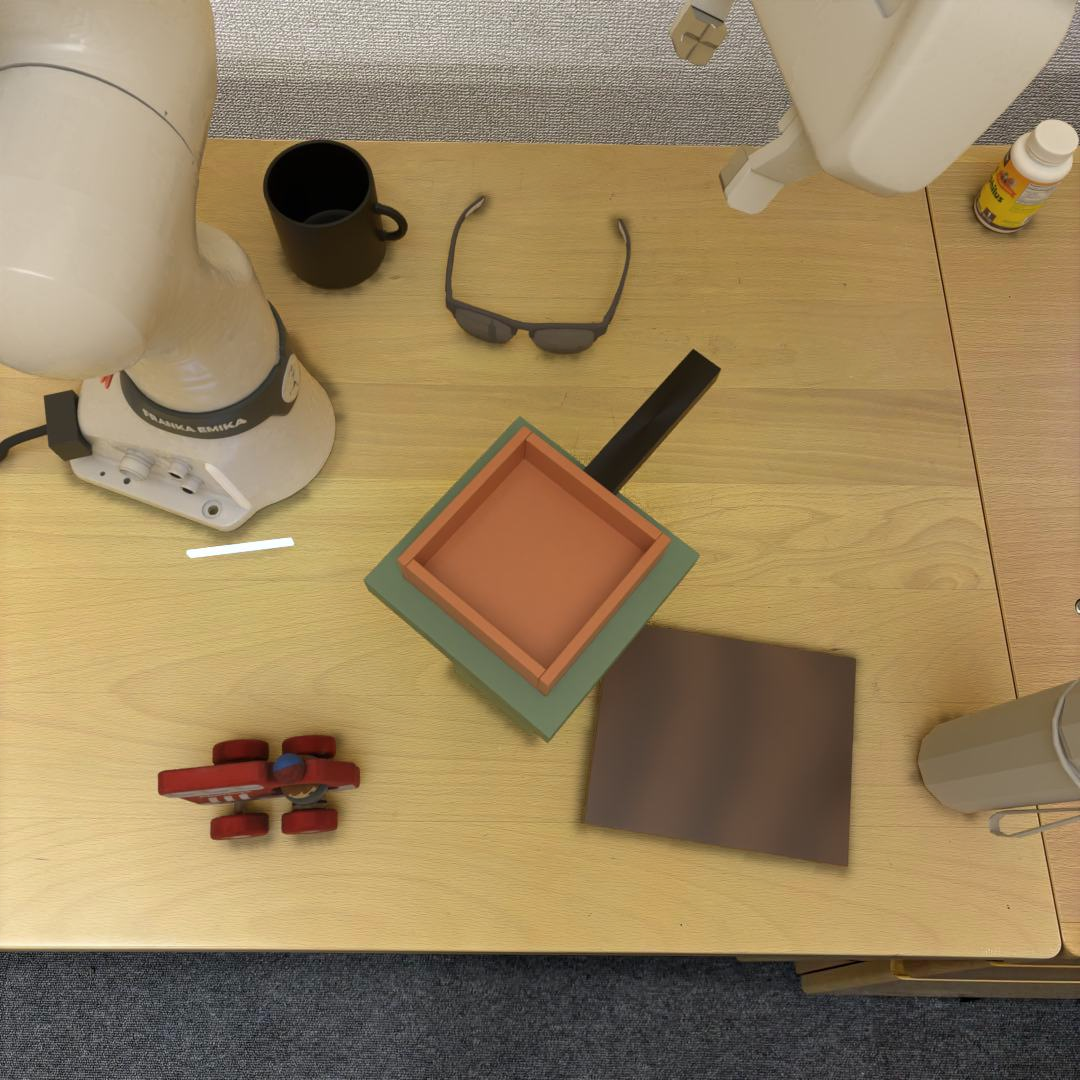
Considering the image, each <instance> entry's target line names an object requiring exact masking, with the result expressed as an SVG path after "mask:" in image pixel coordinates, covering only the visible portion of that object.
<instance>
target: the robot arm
mask: <svg viewBox="0 0 1080 1080" xmlns="http://www.w3.org/2000/svg"><path fill="white" fill-rule="evenodd" d="M734 2H735V0H685V2H684V3H683V5H682V6H681V8H680V10H679V12H678V13H677V15H676V16H675V18H674V20H673V21H672V23H671V24H670V26H669V29H668V34H669V37H670V39H671V43H672V47H673V50H674V51H675V54H676V55H677V57H678V58H679V59H681V60H683V61H688V62H690V64H692V65H695V66H697V67H701V66H704V65H706V64H707V63H709V62H710V60H712V58H713V56H714V53H715V50H716V49H718V48H720V46H721V45H722V43H723V42H724V41H725V39H726V37H727V36H728V35H729V32H728V30H727V26H726V23H725V22H726V20H727V19H728V16H729V13H730V11H731V9H732V7H733V4H734ZM749 2H750V5H751V6H752V9H753V11H754V13H755V16H756V18H757V21H758V23H759V25H760V28H761V30H762V32H763V35H764V37H765V39H766V41H767V44H768V47H769V49H770V51H771V54H772V57H773V59H774V61H775V63H776V66H777V68H778V70H779V73H780V75H781V78H782V80H783V82H784V85H785V87H786V89H787V92H788V94H789V97H790V99H791V101H792V104H791V105H790V107H789V108H788V109H787V110H786V112H785V113H784V114H783V115H782V117H781V118H780V119H779V121H778V123H777V129H778V131H779V133H780V134H781V135H780V136H778V137H776V138H775V139H773V140H772V141H770V142H769V143H767V144H765V145H764V146H762V147H760V148H759V149H756V148H754V147H752V146H749V145H746V144H744V143H741V144H740V145H739V146H738V148H736V150H735V152H734V153H733V154H732V155H731V156H730V159H729V162H728V164H726V165H723V167H722V168H721V169H720V171H719V173H718V179H719V182H720V185H721V189H722V193H723V196H724V199H725V201H726V204H727V206H728V208H730V209H733V210H735V211H739V212H740V213H743V214H747V215H750V216H753V215H754V216H755V215H758V214H760V213H761V212H763V211H764V210H765V209H766V208H767V206H769V204H770V203H771V202H772V201H774V198H776V196H777V195H778V194H779V193H780V192H781V190H782V189H783V188H784V187H785V186H786V185H787V186H790V185H791V184H794V183H796V182H800V181H802V180H804V179H806V178H809V177H811V176H814V175H817V174H819V173H822V172H824V173H825V174H826V175H828V176H830V177H831V178H833V179H835V180H836V181H839V182H841V183H843V184H846V185H848V186H850V187H853V188H855V189H858V190H860V191H863V192H865V193H867V194H871V195H872V196H875V197H878V198H882V199H893V198H898V197H902V196H906V195H910V194H913V193H917V192H919V191H921V190H923V189H925V188H926V187H927V186H929V185H930V184H932V183H933V182H934V181H935V180H936V179H937V178H938V177H940V176H941V175H942V174H943V173H944V172H945V171H946V170H947V169H948V168H949V167H951V166H952V164H954V163H955V162H956V161H957V160H958V159H959V158H960V157H961V156H962V155H963V154H964V153H965V152H966V151H967V150H968V149H969V148H970V147H971V146H972V145H973V144H974V143H975V142H976V141H977V140H978V139H979V138H980V137H981V136H982V135H983V134H985V132H987V130H988V129H989V128H990V127H991V126H992V125H993V124H994V122H996V121H997V119H999V117H1001V116H1002V114H1003V113H1004V112H1005V111H1006V110H1007V109H1008V108H1009V107H1010V106H1011V105H1012V104H1013V103H1014V102H1015V100H1016V99H1017V98H1018V97H1019V96H1020V95H1021V94H1022V93H1023V92H1024V91H1025V89H1027V87H1028V86H1029V85H1030V84H1031V83H1032V81H1034V79H1035V78H1036V77H1037V76H1038V75H1039V73H1041V71H1042V70H1043V69H1044V68H1045V66H1046V65H1047V64H1048V63H1049V61H1050V60H1051V59H1052V57H1053V56H1054V54H1055V53H1056V51H1057V50H1058V49H1059V47H1060V45H1061V44H1062V42H1063V40H1064V39H1065V36H1067V33H1068V31H1069V29H1070V27H1071V24H1072V21H1073V18H1074V15H1075V12H1076V5H1077V0H749ZM214 15H215V14H214V10H213V7H212V4H211V2H210V0H0V364H1V365H3V366H5V367H7V368H10V369H11V370H15V371H17V372H20V373H23V374H26V375H29V376H33V377H36V378H41V379H47V380H54V381H72V382H76V381H77V382H78V381H82V383H81V386H80V391H79V394H77V392H76V391H75V390H73V389H69V390H64V391H59V392H55V393H54V392H53V393H48V394H44V395H43V402H44V416H45V424H42V425H39V426H36V427H32V428H30V429H25V430H23V431H20V432H17V433H15V434H13V435H10V436H8V437H6V438H4V439H3V440H1V441H0V462H1V461H3V460H5V459H6V458H7V456H8V454H9V451H10V450H11V449H12V448H14V447H16V446H18V445H21V444H23V443H25V442H28V441H31V440H36V439H38V438H41V437H44V436H47V444H48V445H47V446H48V448H49V449H50V450H51V451H52V452H53V453H54V454H55V455H57V457H59V458H60V459H61V460H62V461H64V462H68V461H69V464H70V466H71V470H72V472H73V473H74V475H75V476H76V477H77V478H78V479H80V480H82V481H83V482H87V483H89V484H91V485H94V486H97V487H100V488H103V489H104V490H108V491H111V492H113V493H116V494H119V495H122V496H124V497H127V498H129V499H133V500H135V501H138V502H141V503H144V504H147V505H149V506H152V507H154V508H157V509H159V510H163V511H166V512H168V513H171V514H173V515H176V516H179V517H181V518H185V519H187V520H191V521H193V522H195V523H198V524H201V525H204V526H207V527H209V528H211V529H214V530H218V531H221V532H225V533H226V532H232V531H235V530H237V529H239V528H240V527H241V526H243V525H244V524H245V523H247V521H248V520H250V519H251V518H252V517H253V516H254V515H255V514H256V513H257V512H259V510H262V509H264V508H265V507H268V506H270V505H273V504H276V503H279V502H280V501H283V500H285V499H287V498H290V497H291V496H293V495H294V494H296V493H297V492H299V491H300V490H302V489H303V488H305V487H306V486H307V485H308V484H310V483H311V482H312V481H313V479H315V477H316V476H317V475H318V474H319V473H320V471H321V470H322V469H323V467H324V465H325V464H326V462H327V460H328V459H329V457H330V454H331V451H332V449H333V446H334V443H335V439H336V428H337V427H336V426H337V425H336V424H337V423H336V415H335V410H334V407H333V404H332V402H331V398H330V397H329V395H328V393H327V391H326V390H325V389H324V387H323V386H322V385H321V384H320V383H319V381H317V379H316V378H315V377H313V376H312V375H311V374H310V372H309V371H308V369H306V367H305V366H304V365H303V364H302V363H301V361H300V360H299V358H298V356H297V354H296V350H295V348H294V345H293V342H292V340H291V337H290V335H289V332H288V330H287V327H286V326H285V324H284V322H283V320H282V318H281V316H280V314H279V312H278V310H277V309H276V307H275V306H274V305H273V304H272V302H270V301H271V300H269V299H267V297H266V294H265V292H264V289H263V287H262V284H261V282H260V279H259V278H258V275H257V272H256V270H255V268H254V266H253V263H252V260H251V258H250V256H249V254H248V252H247V251H245V248H244V247H243V246H242V244H240V243H239V242H238V241H237V240H236V239H235V238H234V237H233V236H231V235H230V234H229V233H228V232H226V231H224V230H223V229H222V228H221V229H220V228H219V227H217V226H215V225H212V224H210V223H208V222H206V221H203V220H201V219H198V218H197V199H198V192H199V187H200V186H199V185H200V173H201V169H202V164H203V160H204V155H205V151H206V146H207V141H208V136H209V132H210V127H211V123H212V122H211V121H212V118H213V113H214V109H215V103H216V100H217V95H218V60H217V59H218V56H217V55H218V54H217V40H216V39H217V38H216V26H215V25H216V24H215V16H214ZM215 509H216V510H217V512H216V513H215V514H211V512H212V511H213V510H215ZM289 546H294V541H293V538H292V537H285V538H277V539H269V540H261V541H251V542H244V543H236V544H228V545H227V544H226V545H221V546H220V545H219V546H212V547H205V548H203V547H202V548H196V549H188V550H186V555H187V556H188V557H189V558H191V559H193V558H200V557H207V556H208V557H209V556H217V555H226V554H234V553H242V552H249V551H258V550H265V549H266V550H267V549H274V548H282V547H289Z"/></svg>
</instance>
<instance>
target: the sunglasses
mask: <svg viewBox="0 0 1080 1080" xmlns="http://www.w3.org/2000/svg"><path fill="white" fill-rule="evenodd" d="M485 199H486V197H485V195H481V196H480V197H478V198H477V199H476V200H475V201H473V202H472V203H471V204H470V205H468V206H467V207H466V208H465V209H464V210H463V212H462V213H461V214H460V216H459V217H458V219H457V220H456V223H455V225H454V228H453V231H452V235H451V237H450V238H451V239H450V244H449V249H448V254H447V255H448V256H447V263H446V271H445V281H444V292H445V298H444V299H445V300H444V301H445V308H446V309H447V310H448V311H449V312H450V313H451V314H452V317H453V319H454V320H455V321H456V323H457V325H458V326H459V327H460V328H461V329H462V330H463V332H465V333H467V334H468V335H470V336H472V337H473V338H475V339H477V340H480V341H483V342H485V343H490V344H498V345H501V344H506V343H508V342H510V341H511V340H513V339H514V338H515V337H516V335H517V334H518V331H519V330H521V331H526V332H528V338H529V339H531V341H532V342H533V344H534V345H535V346H536V347H538V348H539V349H540V350H542V351H544V352H546V353H550V354H555V355H572V354H573V355H574V354H578V353H582V352H584V351H586V350H588V349H590V348H591V347H592V346H593V345H594V343H596V342H597V340H598V339H599V338H600V337H603V336H605V335H606V334H607V331H608V329H609V326H610V324H611V322H612V321H613V319H614V316H615V314H616V311H617V309H618V307H619V304H620V301H621V297H622V294H623V291H624V288H625V283H626V279H627V276H628V271H629V268H630V267H629V266H630V262H631V254H632V253H631V252H632V244H631V237H630V235H629V232H628V229H627V227H626V225H625V222H624V219H623V218H618V229H619V232H620V233H621V236H622V237H623V239H624V243H625V250H626V251H625V252H626V253H625V262H624V267H623V271H622V274H621V277H620V281H619V284H618V287H617V289H616V291H615V294H614V297H613V299H612V301H611V304H610V306H609V308H608V309H607V311H606V313H605V315H603V317H602V321H601V322H527V321H521V320H518V319H513V318H511V317H508V316H505V315H502V314H499V313H496V312H494V311H490V310H488V309H484V308H480V307H478V306H475V305H472V304H470V303H466V302H464V301H461V300H458V299H456V298H454V297H453V287H452V282H453V281H452V276H453V271H454V262H455V261H454V260H455V252H456V244H457V241H458V240H457V238H458V235H459V232H460V229H461V227H462V225H463V224H464V222H465V220H466V218H468V216H469V215H470V214H472V213H473V212H475V211H477V210H478V209H479V208H480V207H481V206H482V205H483V203H484V201H485Z"/></svg>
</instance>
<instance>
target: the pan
mask: <svg viewBox="0 0 1080 1080" xmlns="http://www.w3.org/2000/svg"><path fill="white" fill-rule="evenodd" d="M721 371H722V368H721V367H719V366H718V365H717V364H716V363H714V362H713V361H711V360H710V359H708V358H707V357H706V356H704V355H703V354H702V353H700V352H699V351H698V350H696V349H695V348H692V349H691V350H690V351H689V352H688V354H687V355H685V357H684V358H683V359H682V360H681V361H680V363H678V365H677V366H676V367H675V368H674V369H673V370H672V371H671V372H670V373H669V374H668V375H667V376H666V378H665V379H664V380H663V381H662V382H661V384H659V385H658V387H657V388H656V389H655V390H654V391H653V392H652V393H651V394H650V396H648V398H647V399H646V400H645V401H644V402H643V403H642V404H641V405H640V407H638V409H637V410H636V411H635V412H634V413H633V414H632V415H631V416H630V418H628V420H627V421H626V422H625V423H624V424H623V425H622V427H620V428H619V430H618V431H617V432H616V433H615V434H614V435H613V436H612V438H610V440H609V441H608V442H607V443H606V444H605V445H604V446H603V447H602V448H601V449H600V451H598V453H597V454H596V455H595V456H594V457H593V459H592V460H590V461H589V463H588V464H587V465H585V466H586V467H585V469H584V470H581V469H580V468H579V467H577V466H576V465H575V464H573V463H572V462H571V461H570V460H568V459H567V458H566V457H564V456H563V455H562V454H561V453H559V452H558V451H557V450H555V449H554V448H553V447H551V446H550V445H549V444H548V443H546V442H545V441H544V440H542V439H541V438H540V437H538V436H537V435H536V434H535V433H533V432H532V431H531V430H529V429H528V428H527V427H525V426H523V427H522V428H521V429H520V430H519V431H518V432H517V433H516V434H515V435H514V436H513V437H512V438H511V439H510V441H509V442H508V443H507V444H506V445H505V446H504V447H503V448H502V449H501V450H500V451H499V452H498V453H497V454H496V455H495V456H494V457H493V458H492V459H491V461H490V462H489V463H488V464H487V465H486V466H485V467H484V468H483V469H482V470H481V471H480V472H479V473H478V474H477V475H476V476H475V477H474V478H473V480H472V481H471V482H470V483H469V484H468V485H467V486H466V487H465V488H464V489H463V490H462V491H461V492H460V493H459V494H458V495H457V496H456V497H455V498H454V500H453V501H452V502H451V503H450V504H449V505H448V506H447V507H446V508H445V509H444V510H443V511H442V512H441V513H440V514H439V515H438V516H437V517H436V519H435V520H434V521H433V522H432V523H431V524H430V525H429V526H428V527H427V528H426V529H425V530H424V531H423V532H422V533H421V534H420V535H419V536H418V537H417V539H416V540H415V541H414V542H413V543H412V544H411V545H410V546H409V547H408V548H407V549H406V550H405V551H404V552H403V553H402V554H401V555H400V556H399V557H398V559H397V561H398V564H399V567H400V569H401V572H402V575H403V577H404V578H405V579H406V580H407V581H408V582H410V583H411V584H412V585H413V586H414V587H415V588H417V589H418V590H419V591H420V592H421V593H423V594H424V595H425V596H426V597H427V598H429V599H430V600H431V601H432V602H433V603H434V604H436V605H437V606H438V607H439V608H440V609H442V610H443V611H444V612H445V613H446V614H448V615H449V616H450V617H451V618H452V619H454V620H455V621H456V622H457V623H458V624H459V625H461V626H462V627H463V628H464V629H465V630H467V631H468V632H469V633H470V634H471V635H473V636H474V637H475V638H476V639H477V640H479V641H480V642H481V643H482V644H483V645H484V646H486V647H487V648H488V649H489V650H490V651H492V652H493V653H494V654H495V655H496V656H498V657H499V658H500V659H501V660H502V661H503V662H505V663H506V664H507V665H508V666H509V667H511V668H512V669H513V670H514V671H515V672H517V673H518V674H519V675H520V676H521V677H523V678H524V679H525V680H526V681H527V682H528V683H530V684H531V685H532V686H533V687H534V688H536V689H537V690H538V691H539V692H540V693H542V694H543V695H544V696H547V695H548V694H549V692H550V691H551V690H552V689H553V688H554V687H555V685H556V684H557V683H558V682H559V681H560V679H561V678H562V677H563V676H564V675H565V673H566V672H567V671H568V670H569V669H570V667H571V666H572V665H573V664H574V663H575V661H576V660H577V659H578V658H579V657H580V655H581V654H582V653H583V652H584V651H585V650H586V648H587V647H588V646H589V645H590V644H591V642H592V641H593V640H594V639H595V638H596V636H597V635H598V634H599V633H600V632H601V630H602V629H603V628H604V627H605V626H606V624H607V623H608V622H609V621H610V620H611V618H612V617H613V616H614V615H615V614H616V612H617V611H618V610H619V609H620V608H621V607H622V605H623V604H624V603H625V602H626V601H627V599H628V598H629V597H630V596H631V595H632V593H633V592H634V591H635V590H636V589H637V587H638V586H639V585H640V584H641V583H642V581H643V580H644V579H645V578H646V577H647V575H648V574H649V573H650V572H651V571H652V569H653V568H654V567H655V566H656V565H657V564H658V562H659V561H660V560H661V559H662V557H663V555H664V553H665V551H666V549H667V547H668V545H669V543H670V541H671V538H669V537H668V536H667V535H665V534H664V533H662V531H660V530H659V529H658V528H656V527H655V526H654V525H652V524H651V523H650V522H649V521H647V520H646V519H645V518H643V517H642V516H641V515H640V514H638V513H637V512H636V511H634V510H633V509H632V508H630V507H629V506H628V505H627V504H625V503H624V502H623V501H621V500H620V499H619V498H618V497H616V496H615V495H616V494H617V493H618V492H620V491H621V490H622V489H623V488H624V487H625V486H626V484H627V483H628V482H629V481H630V480H631V478H633V476H634V475H635V474H636V473H637V472H638V470H639V469H641V467H642V466H644V464H645V463H646V462H647V460H648V459H649V458H650V457H651V456H652V455H653V454H654V453H655V451H656V450H657V449H658V448H659V447H660V445H662V443H663V442H664V441H665V440H666V439H667V438H668V437H669V435H670V434H671V433H673V431H674V429H676V428H677V426H678V425H679V424H681V422H682V421H683V420H684V418H686V416H687V415H688V414H689V413H690V411H691V410H692V409H693V408H694V407H695V406H696V405H697V404H698V402H700V400H701V399H702V398H703V397H704V396H705V394H706V393H707V392H708V391H709V390H710V389H711V388H712V387H713V385H715V383H716V382H717V380H718V377H719V376H720V373H721Z"/></svg>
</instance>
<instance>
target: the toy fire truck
mask: <svg viewBox="0 0 1080 1080" xmlns="http://www.w3.org/2000/svg"><path fill="white" fill-rule="evenodd" d="M211 751H212V757H211V761H212V762H211V763H212V765H203V766H202V765H201V766H194V767H183V768H174V769H173V768H172V769H164V770H162V771H159V772H158V773H157V793H158V795H159V796H161V797H164V798H169V799H181V800H185V801H187V802H190V803H194V804H196V805H199V806H210V805H211V806H212V805H223V804H233V810H232V811H233V812H232V813H233V814H228V815H220V816H216V817H214V818H212V819H211V820H210V822H209V824H210V825H209V827H210V829H209V836H210V839H211V840H213V841H230V840H241V839H242V840H243V839H249V838H257V837H263V836H266V835H267V834H269V829H270V827H269V826H270V825H269V824H270V823H269V822H270V821H269V814H268V813H265V812H247V811H248V808H247V807H248V805H247V804H248V802H250V801H260V800H269V799H279V798H286V799H287V800H288V801H289V802H291V809H292V810H291V811H288V812H287V811H286V812H284V813H282V814H281V819H280V821H281V828H280V829H281V833H282V834H283V835H287V836H288V835H289V836H290V835H292V836H293V835H294V836H295V835H311V834H319V833H328V832H334V831H336V830H337V829H338V827H339V812H338V810H337V809H336V808H332V807H329V808H328V806H327V805H328V803H329V802H328V799H327V795H326V793H334V792H342V791H351V790H357V789H358V788H359V787H360V786H361V768H360V766H358V765H357V764H356V763H354V761H353V762H352V761H344V760H337V759H333V758H335V757H336V755H337V740H336V738H335V737H334V736H332V735H326V734H305V735H304V734H303V735H295V736H291V737H288V738H285V739H284V740H283V741H282V742H281V755H280V756H279V757H277V758H276V760H275V761H269V759H270V743H269V742H268V741H266V740H264V739H258V738H239V739H232V740H231V739H230V740H224V741H220V742H217V743H215V744H214V745H213V746H212V750H211Z"/></svg>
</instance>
